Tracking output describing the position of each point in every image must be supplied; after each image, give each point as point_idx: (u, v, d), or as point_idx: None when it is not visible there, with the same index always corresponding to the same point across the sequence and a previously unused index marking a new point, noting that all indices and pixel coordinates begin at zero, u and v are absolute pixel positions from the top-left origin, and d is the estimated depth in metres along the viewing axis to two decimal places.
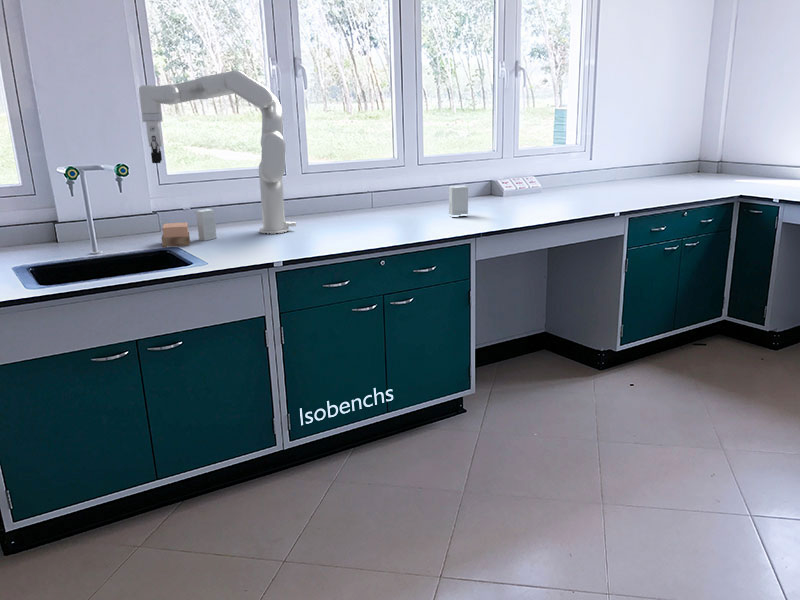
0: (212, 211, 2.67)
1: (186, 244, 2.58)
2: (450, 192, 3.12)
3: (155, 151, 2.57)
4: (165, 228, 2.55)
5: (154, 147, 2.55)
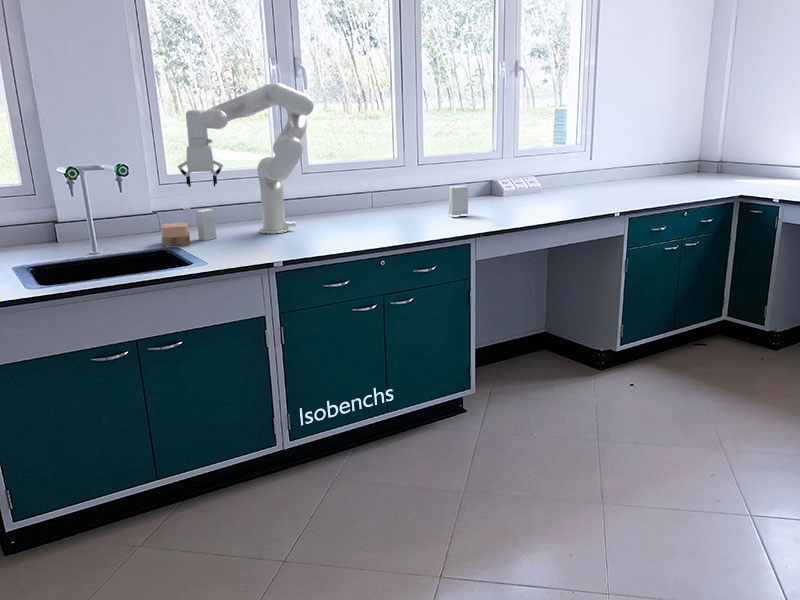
0: (212, 211, 2.67)
1: (186, 244, 2.58)
2: (450, 192, 3.12)
3: (217, 174, 2.64)
4: (164, 228, 2.55)
5: None
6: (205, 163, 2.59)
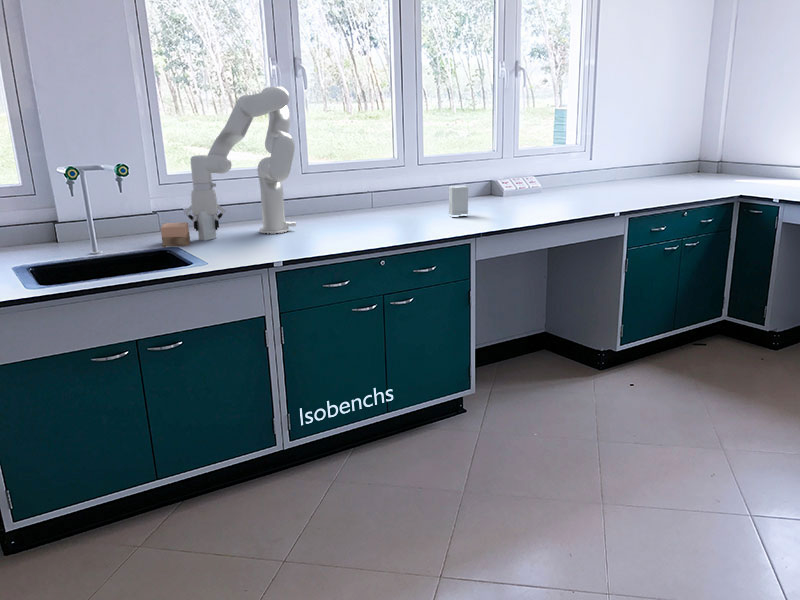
0: None
1: (186, 244, 2.58)
2: (450, 192, 3.12)
3: (219, 218, 2.69)
4: (163, 228, 2.55)
5: (222, 214, 2.69)
6: (209, 207, 2.65)
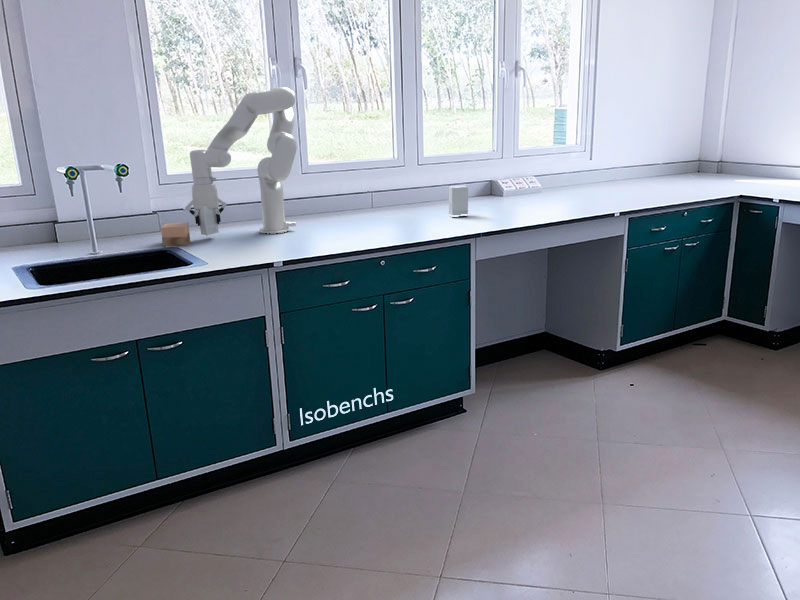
0: None
1: (186, 244, 2.58)
2: (450, 192, 3.12)
3: None
4: (164, 228, 2.55)
5: None
6: (210, 201, 2.64)
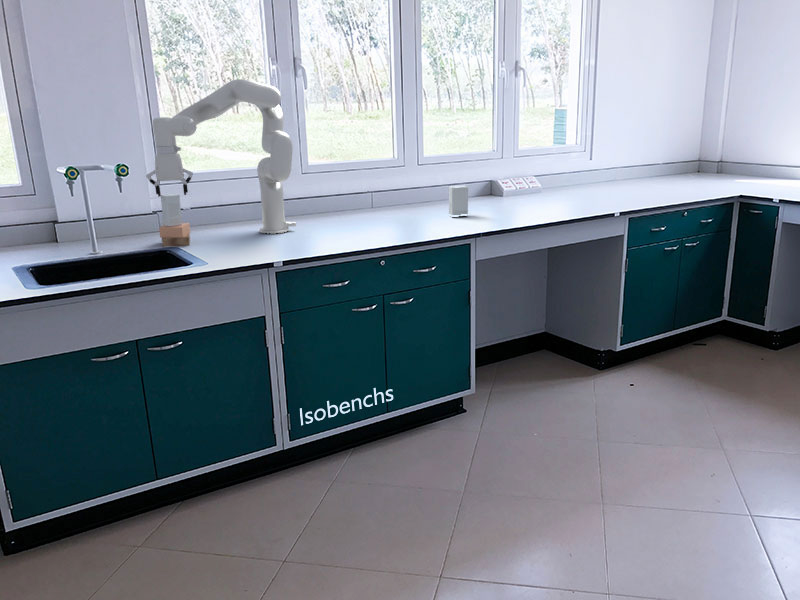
0: (177, 196, 2.56)
1: (186, 244, 2.58)
2: (450, 192, 3.12)
3: None
4: (162, 228, 2.56)
5: None
6: (174, 172, 2.52)
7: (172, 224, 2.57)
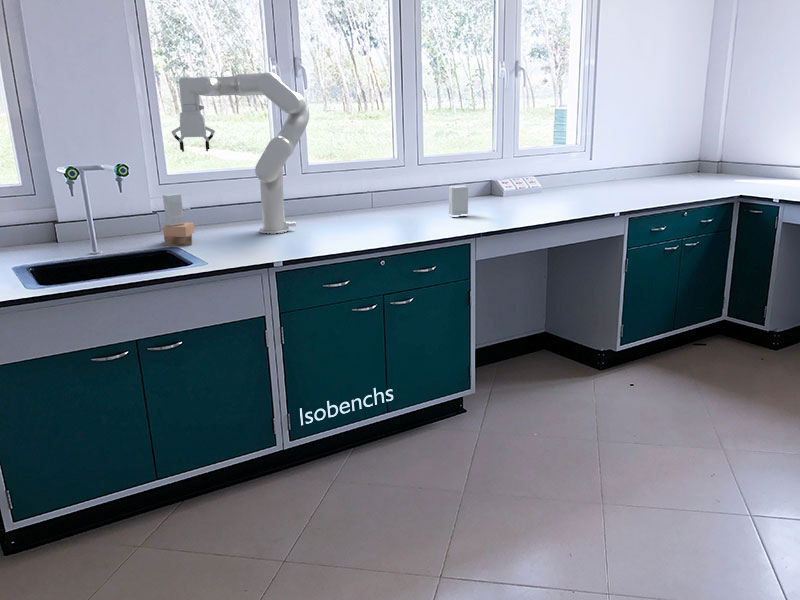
0: (179, 195, 2.57)
1: (188, 244, 2.59)
2: (450, 192, 3.12)
3: None
4: (165, 227, 2.57)
5: None
6: (198, 129, 2.70)
7: (174, 223, 2.58)
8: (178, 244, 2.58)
